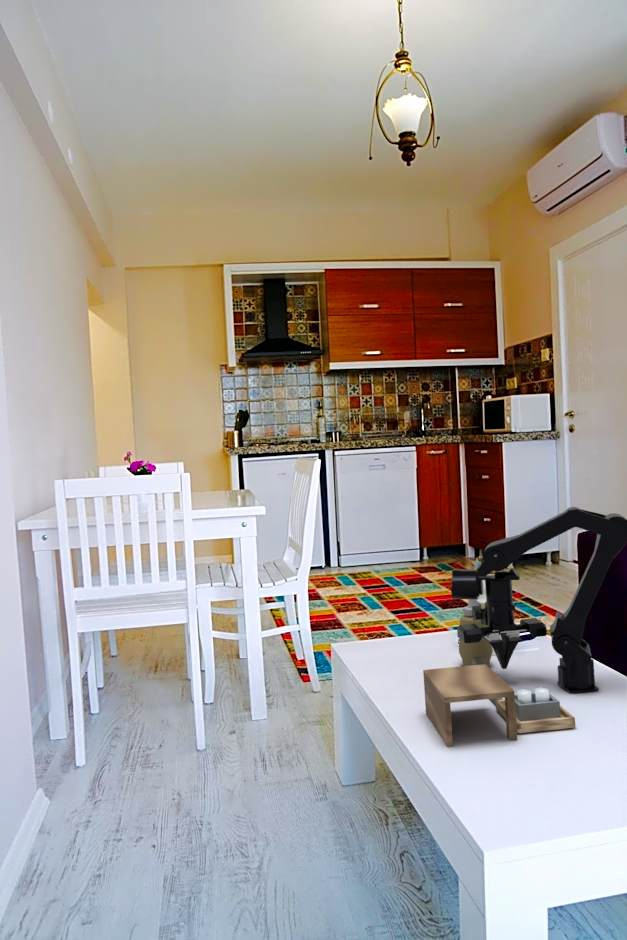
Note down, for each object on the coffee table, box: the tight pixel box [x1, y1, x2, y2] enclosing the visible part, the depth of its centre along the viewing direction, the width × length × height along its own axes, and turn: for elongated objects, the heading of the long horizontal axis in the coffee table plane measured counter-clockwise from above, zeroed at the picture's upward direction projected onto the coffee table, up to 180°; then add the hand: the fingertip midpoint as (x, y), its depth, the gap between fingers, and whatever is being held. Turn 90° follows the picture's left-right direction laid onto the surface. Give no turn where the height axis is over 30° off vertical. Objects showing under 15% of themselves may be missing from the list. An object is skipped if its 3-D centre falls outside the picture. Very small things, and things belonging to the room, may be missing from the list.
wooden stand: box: [422, 664, 518, 748], centre depth 132 cm, size 13×16×9 cm
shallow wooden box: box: [472, 657, 576, 734], centre depth 141 cm, size 11×27×6 cm, turn 5°
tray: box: [515, 687, 561, 721], centre depth 133 cm, size 8×6×4 cm
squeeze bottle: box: [458, 599, 493, 667], centre depth 167 cm, size 8×8×18 cm
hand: (503, 668), depth 153 cm, fingers closed
